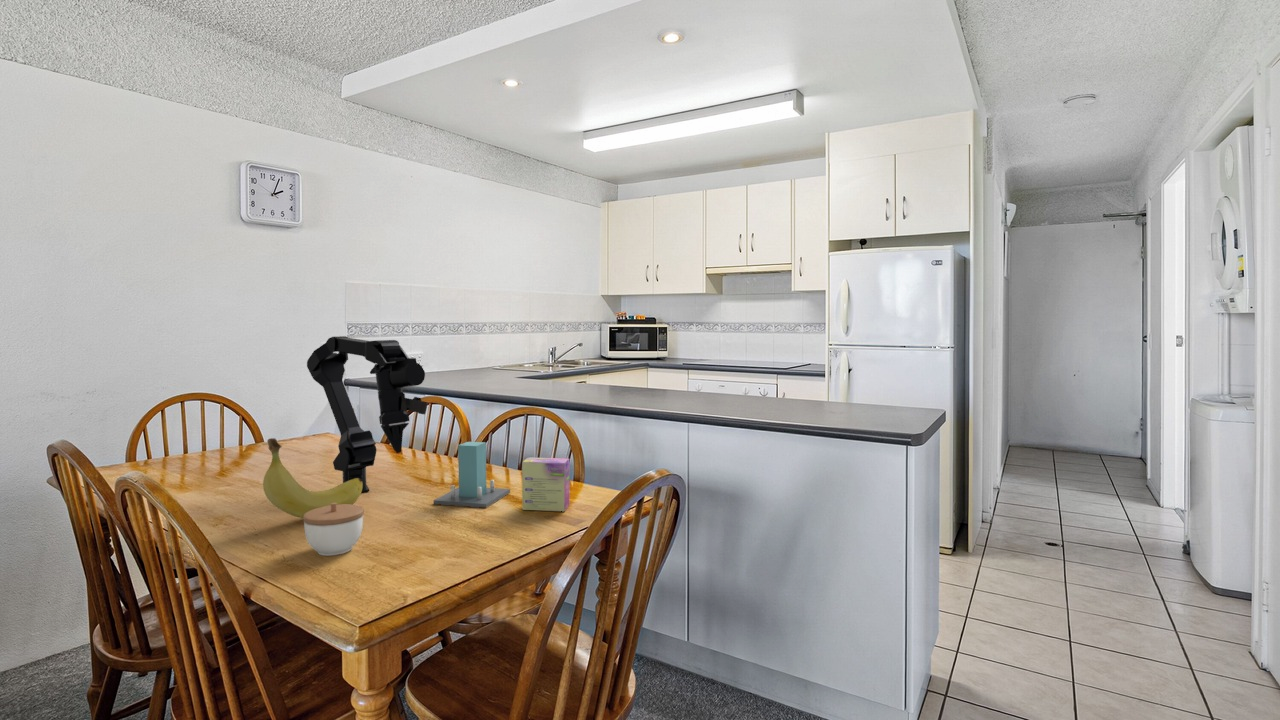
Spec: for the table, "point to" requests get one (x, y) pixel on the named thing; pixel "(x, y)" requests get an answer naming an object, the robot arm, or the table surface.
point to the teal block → (472, 468)
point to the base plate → (480, 501)
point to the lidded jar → (333, 528)
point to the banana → (302, 489)
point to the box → (545, 484)
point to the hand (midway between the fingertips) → (397, 451)
